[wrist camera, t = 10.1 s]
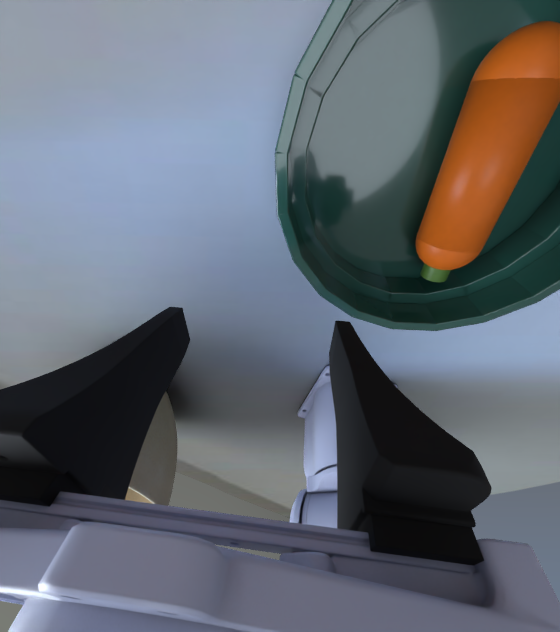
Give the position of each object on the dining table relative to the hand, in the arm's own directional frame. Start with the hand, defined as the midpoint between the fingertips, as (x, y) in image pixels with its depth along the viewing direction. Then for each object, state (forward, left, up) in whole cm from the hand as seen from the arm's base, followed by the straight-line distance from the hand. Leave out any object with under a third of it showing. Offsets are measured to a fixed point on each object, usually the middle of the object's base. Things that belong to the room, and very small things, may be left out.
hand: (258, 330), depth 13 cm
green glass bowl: (+8, -7, -9) cm, 14 cm away
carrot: (+8, -7, -8) cm, 14 cm away
